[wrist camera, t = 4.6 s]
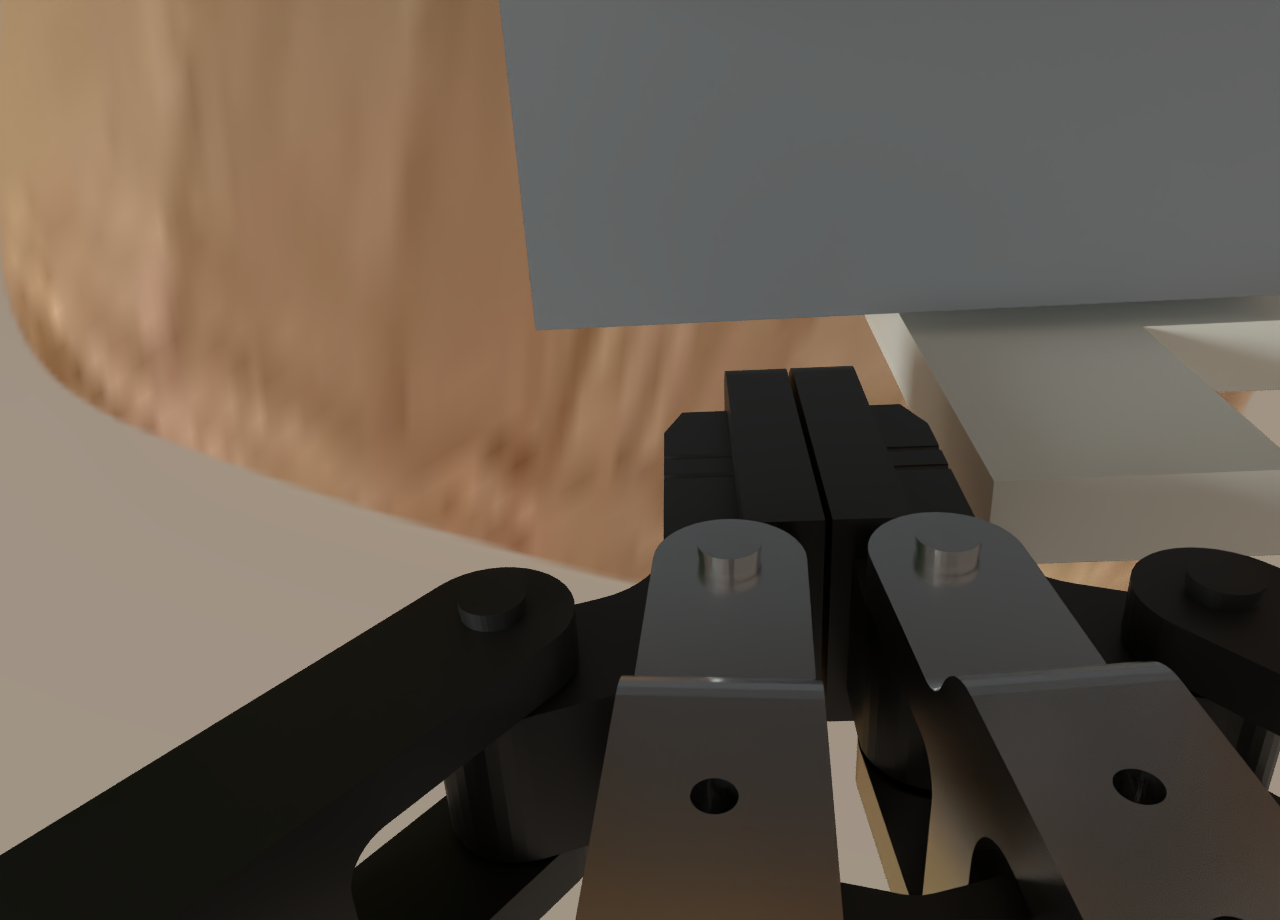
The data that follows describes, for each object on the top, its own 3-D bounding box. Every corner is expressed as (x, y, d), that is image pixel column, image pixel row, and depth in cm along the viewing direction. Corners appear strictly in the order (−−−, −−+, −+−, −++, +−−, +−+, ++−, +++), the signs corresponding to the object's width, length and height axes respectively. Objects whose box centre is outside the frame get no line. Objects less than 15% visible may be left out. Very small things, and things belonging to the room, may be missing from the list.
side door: (821, 176, 23) (993, 481, 11) (1284, 151, 22) (2016, 441, 10) (820, 228, 23) (984, 573, 11) (1273, 204, 23) (1955, 539, 11)
